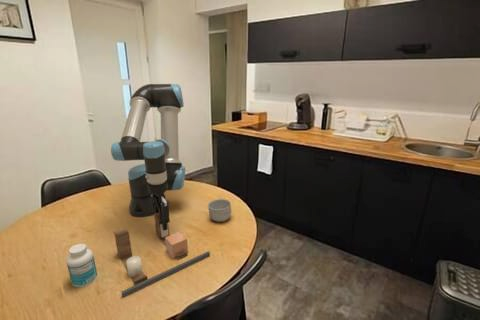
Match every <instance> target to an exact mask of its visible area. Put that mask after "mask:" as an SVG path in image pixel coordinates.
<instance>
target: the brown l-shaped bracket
mask: <svg viewBox="0 0 480 320" xmlns="http://www.w3.org/2000/svg"><path fill="white" fill-rule="evenodd" d="M113 233H114V238H115V245H116V250H117V252H116V253H117V255H118V257H119V259H120V260H121V263H122V264H123V266H124V269H125V270H126V272H127V273H128V269H127V263H126V261H127V259H129V258H130V257H132V256H133V252H132V251H133V250H132V246H131V239H130V231H129V230H128V229H127V227H126V226H125V227H122V228H119V229H118V228H117V229H116V230H115V229H114V230H113ZM130 279H131V281H132V283H133V286H135V285H137V284H139V283H141V282H143V281H145V280H147V279H148V276H147V274H144V272H143V271H142V273H141V274H140V275H139V276H137V277H130Z"/></svg>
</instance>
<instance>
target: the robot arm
mask: <svg viewBox="0 0 480 320" xmlns="http://www.w3.org/2000/svg"><path fill="white" fill-rule="evenodd" d="M184 107H185V105H184V97H183V93H182V88H181V85H179V84H175V83H149V84H144V85H143V86H140V87H139V88H138V89H137V90H135V91H134V93H133V94H132V95H131V96H130V100H129V111H128V115H127V119H126V121H125V125H124V128H123V131H122V134H121V135H122V136H121V138H120V141H117V142H114V143H112V144H111V147H110V153H111V157H112V159H113V160H114V161H118V162H119V161H121V162H125V161H128V162H129V161H144V163H142V164H138V165H135V166H133V167H131V168H129V170H128V172H127V173H128V174H127V175H128V176H127V177H128V178H127V180H128V183H129V191H130V202H129V207H128V211H129V215H131V216H133V217H138V218H140V217H142V218H143V217H149V216H152V215H154V214H155V213H158V212H159V214H160V220H161V222H160V223H159V224H160V228H161V237H165V236H167V235H168V226H169V223H170V221H171V220H170V209H169V208H170V207H169V205H170V203H169V200H166V195H165V193H166V192H167V191H178V190H182V189H183V188H184V184H185V179H186V177H185V176H186V167H185V166H183V162H182V161H180V157H179V152H180V151H179V117H178V116H179V113H181V111H182V108H184ZM151 108H156V110H157V111H158V113H159V114H160V138H159V139H156V140H152V141H141V138H142V135H143V130H144V128H145V121H146V118H147V113H148V112H149V111H150V110H151ZM167 223H168V225H167Z"/></svg>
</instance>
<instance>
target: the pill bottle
mask: <svg viewBox="0 0 480 320" xmlns="http://www.w3.org/2000/svg"><path fill="white" fill-rule="evenodd" d="M68 252H69V255H68V256H67V258H66V259H65V261H66V267H67V270H68V274H69V278H70V282H71V285H72V286H73V287H75V288H83V287H86V286H88V285H90V284H92V283H93V282H95V281H96V280H97V278H98V272H97V266H96V262H95V257H94V252H93V250H91V249H90V248H88V246H87V245H86V244H85V243H77V244H75V245H73V246H71V247H70V248H69V251H68Z"/></svg>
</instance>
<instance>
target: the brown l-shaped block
mask: <svg viewBox="0 0 480 320" xmlns="http://www.w3.org/2000/svg"><path fill="white" fill-rule="evenodd" d="M153 217H154V225H155V233H156V237H157V238H158V239H159V240H160V241H161V242H162V243H163V245H164V246H165V247H166V242H165V237H167V236H170V229H169V223H167V225H168V235H167V236H165V237H161V228H160V224H159V223H160V222H161V220H160V214H159V212H158V213H155V214H153ZM188 255H189V254H188V253H187V251H185V252H182V253H180V254H178V255H176V258H175V259H176V260H177V261H179V260H182V259H183V258H186V257H187V256H188Z"/></svg>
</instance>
